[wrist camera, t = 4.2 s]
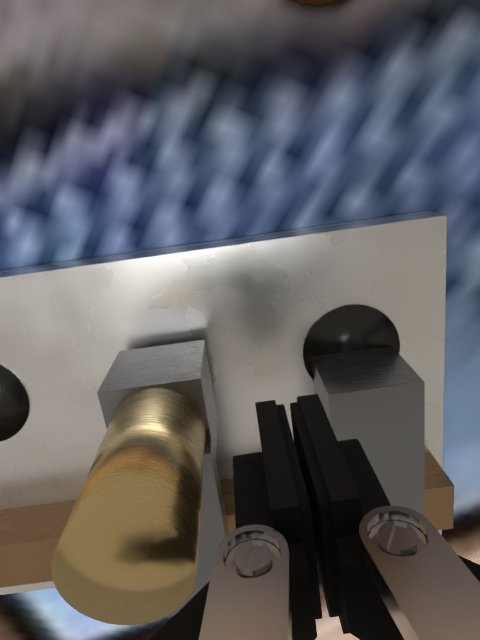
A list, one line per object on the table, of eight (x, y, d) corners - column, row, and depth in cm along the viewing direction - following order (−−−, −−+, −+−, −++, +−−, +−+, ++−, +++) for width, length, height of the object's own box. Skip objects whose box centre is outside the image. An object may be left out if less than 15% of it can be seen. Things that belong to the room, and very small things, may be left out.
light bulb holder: (204, 335, 16) (187, 500, 8) (235, 513, 19) (244, 767, 11) (121, 346, 16) (26, 522, 8) (163, 523, 19) (121, 782, 11)
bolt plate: (428, 210, 17) (497, 227, 13) (427, 512, 22) (477, 598, 17) (-235, 303, 17) (-384, 350, 13) (-95, 580, 22) (-172, 682, 18)
